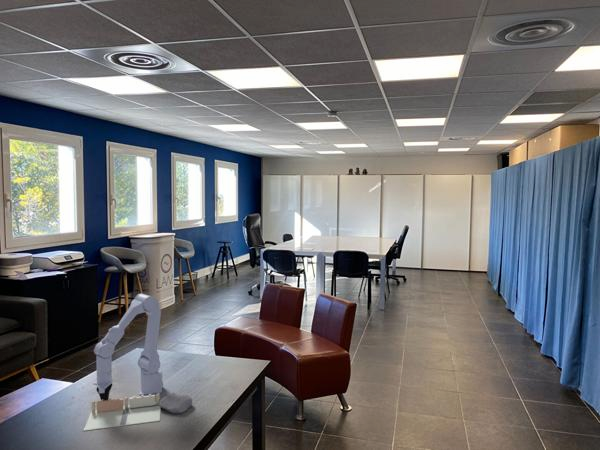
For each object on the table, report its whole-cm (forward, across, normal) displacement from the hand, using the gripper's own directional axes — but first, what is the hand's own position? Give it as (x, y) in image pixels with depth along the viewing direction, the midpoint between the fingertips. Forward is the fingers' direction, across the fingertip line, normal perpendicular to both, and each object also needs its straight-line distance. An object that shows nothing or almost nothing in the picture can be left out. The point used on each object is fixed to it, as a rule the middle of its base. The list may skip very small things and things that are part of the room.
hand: (104, 402), depth 177 cm
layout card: (+1, +10, +9) cm, 14 cm away
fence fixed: (+1, +5, +15) cm, 16 cm away
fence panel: (+1, +5, +2) cm, 6 cm away
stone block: (+1, +10, +28) cm, 30 cm away
